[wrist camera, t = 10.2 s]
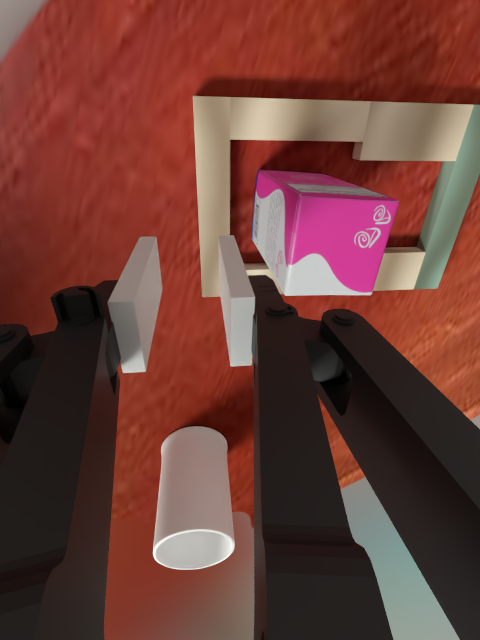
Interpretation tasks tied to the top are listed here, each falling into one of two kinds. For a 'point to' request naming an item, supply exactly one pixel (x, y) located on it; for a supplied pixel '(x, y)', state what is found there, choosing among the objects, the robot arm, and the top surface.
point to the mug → (193, 501)
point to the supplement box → (320, 232)
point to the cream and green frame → (370, 144)
